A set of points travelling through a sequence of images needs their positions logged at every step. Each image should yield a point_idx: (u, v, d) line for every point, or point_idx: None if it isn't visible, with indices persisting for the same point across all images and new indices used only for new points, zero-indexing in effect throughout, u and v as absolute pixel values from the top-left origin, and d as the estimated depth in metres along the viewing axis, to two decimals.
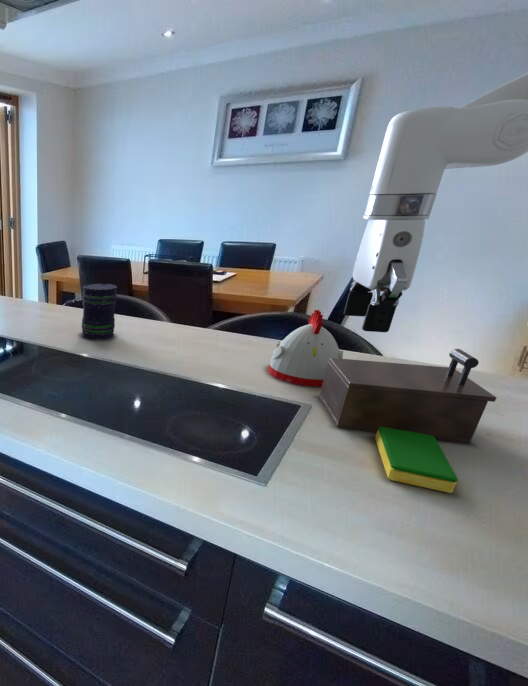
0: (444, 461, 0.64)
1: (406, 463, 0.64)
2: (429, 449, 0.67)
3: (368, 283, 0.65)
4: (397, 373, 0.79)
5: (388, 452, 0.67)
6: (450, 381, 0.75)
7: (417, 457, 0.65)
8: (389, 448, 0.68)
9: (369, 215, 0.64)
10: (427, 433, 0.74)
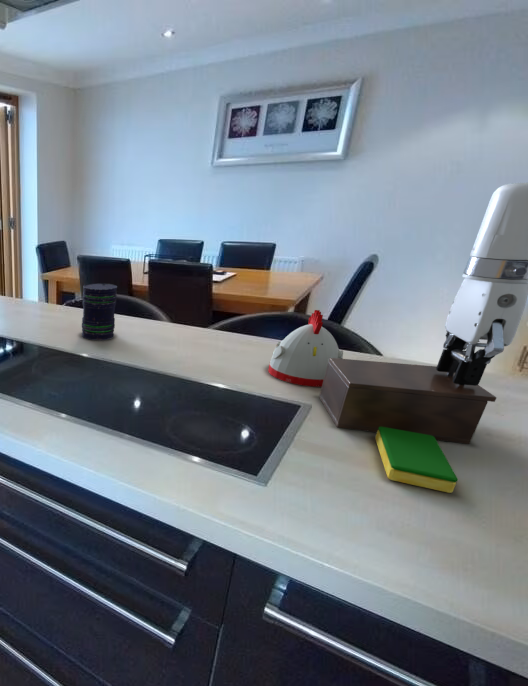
0: (444, 461, 0.64)
1: (406, 463, 0.64)
2: (429, 449, 0.67)
3: (468, 338, 0.70)
4: (397, 373, 0.79)
5: (388, 452, 0.67)
6: (450, 381, 0.75)
7: (417, 457, 0.65)
8: (389, 448, 0.68)
9: (471, 276, 0.69)
10: (427, 433, 0.74)
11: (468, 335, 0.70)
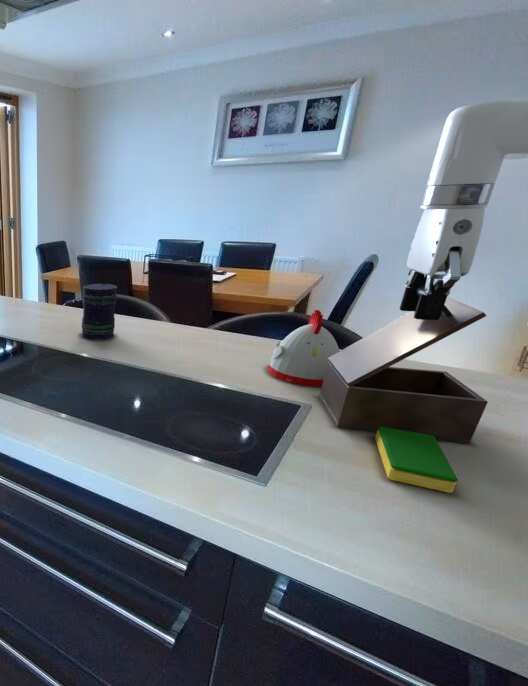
0: (444, 461, 0.64)
1: (406, 463, 0.64)
2: (429, 449, 0.67)
3: (427, 270, 0.69)
4: (389, 339, 0.77)
5: (388, 452, 0.67)
6: None
7: (418, 457, 0.65)
8: (389, 448, 0.68)
9: (428, 205, 0.67)
10: (427, 433, 0.74)
11: (426, 267, 0.69)
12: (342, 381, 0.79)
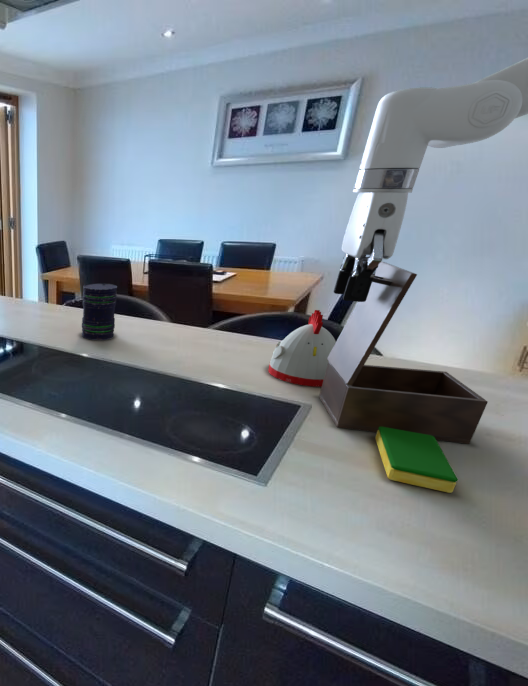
0: (444, 461, 0.64)
1: (406, 463, 0.64)
2: (429, 449, 0.67)
3: (355, 252, 0.71)
4: (360, 324, 0.78)
5: (388, 452, 0.67)
6: (385, 288, 0.73)
7: (418, 457, 0.65)
8: (389, 448, 0.68)
9: (358, 188, 0.70)
10: (427, 433, 0.74)
11: (355, 249, 0.71)
12: (342, 381, 0.79)
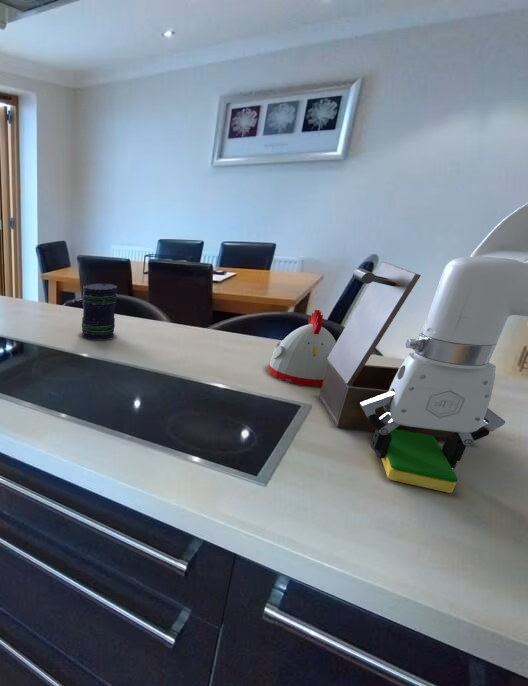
0: (444, 461, 0.64)
1: (406, 463, 0.64)
2: (429, 449, 0.67)
3: None
4: (361, 324, 0.78)
5: (388, 452, 0.67)
6: (387, 289, 0.73)
7: (417, 457, 0.65)
8: (389, 448, 0.68)
9: None
10: (427, 433, 0.74)
11: None
12: (342, 381, 0.79)
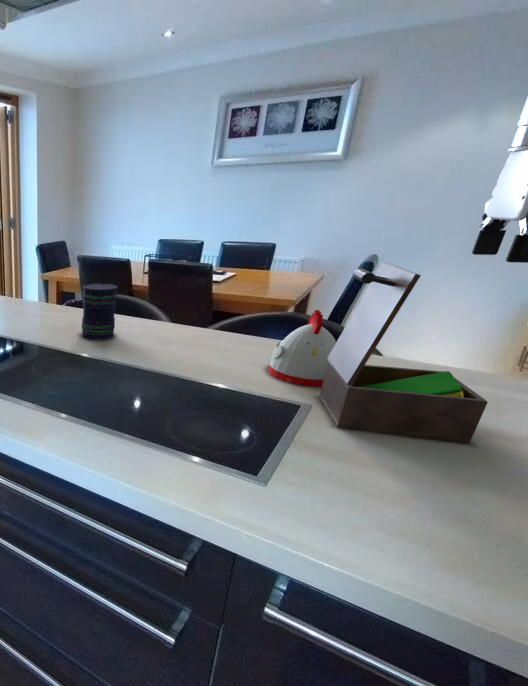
0: (413, 377, 0.80)
1: (445, 386, 0.74)
2: (391, 384, 0.81)
3: (515, 214, 0.67)
4: (361, 324, 0.78)
5: None
6: (387, 289, 0.73)
7: (421, 385, 0.77)
8: None
9: (518, 146, 0.65)
10: (427, 433, 0.74)
11: (514, 211, 0.67)
12: (342, 381, 0.79)
